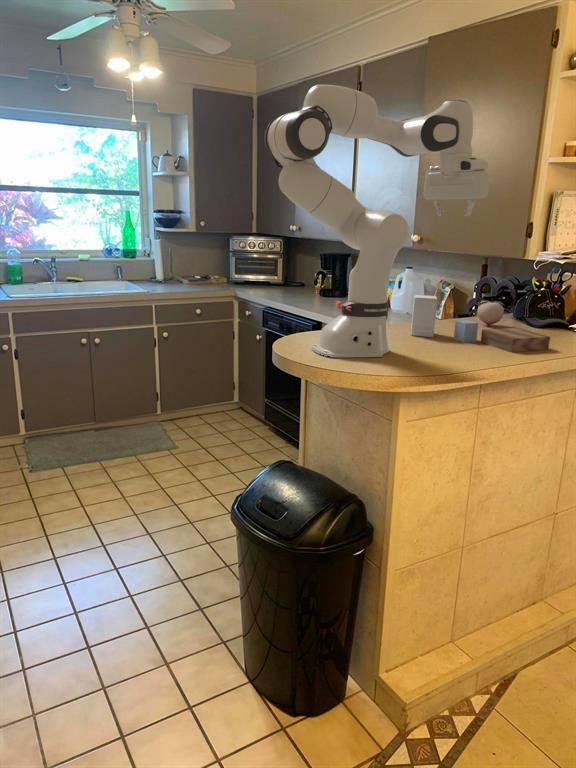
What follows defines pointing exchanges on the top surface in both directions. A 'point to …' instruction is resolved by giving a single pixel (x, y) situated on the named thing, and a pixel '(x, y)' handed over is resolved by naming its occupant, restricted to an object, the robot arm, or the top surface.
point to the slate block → (465, 330)
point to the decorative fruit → (490, 312)
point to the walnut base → (515, 339)
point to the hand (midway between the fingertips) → (453, 215)
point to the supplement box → (423, 315)
